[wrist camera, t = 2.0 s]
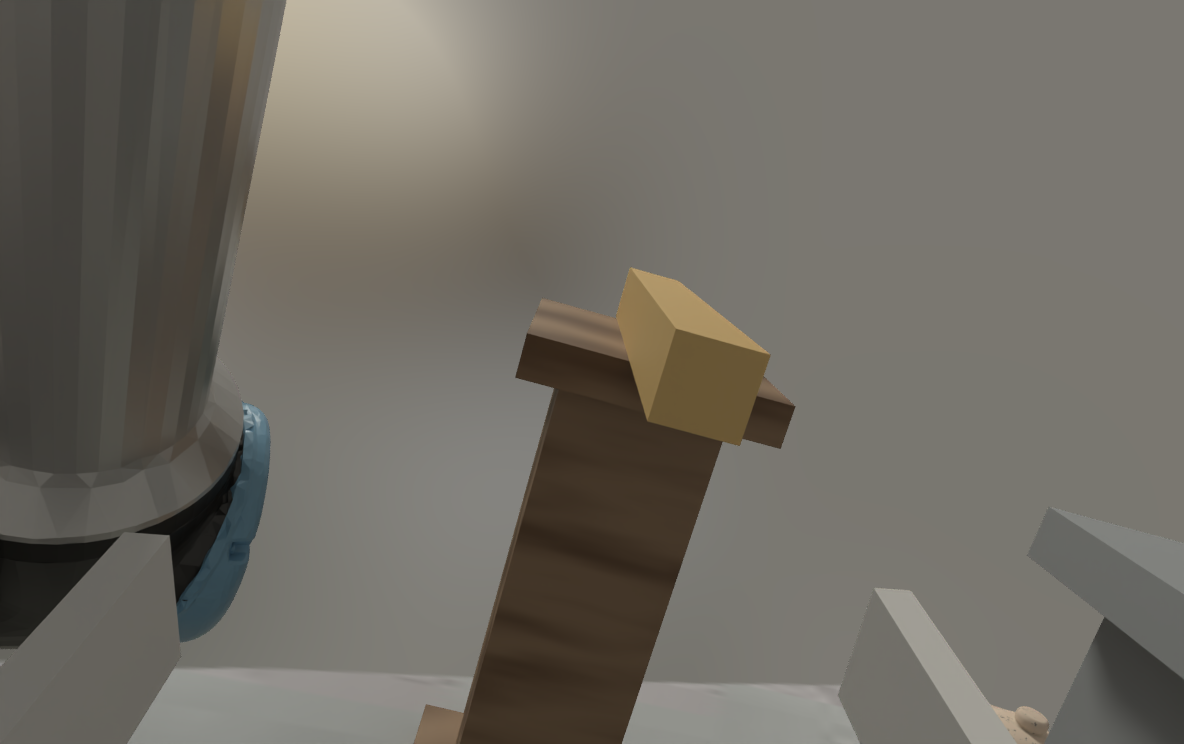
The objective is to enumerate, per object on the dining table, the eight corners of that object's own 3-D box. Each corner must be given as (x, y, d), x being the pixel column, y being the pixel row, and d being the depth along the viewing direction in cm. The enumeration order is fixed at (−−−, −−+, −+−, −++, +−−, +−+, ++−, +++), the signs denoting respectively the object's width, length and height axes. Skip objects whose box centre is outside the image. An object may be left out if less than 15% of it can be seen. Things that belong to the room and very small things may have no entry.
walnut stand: (615, 956, 38) (809, 412, 32) (365, 902, 37) (514, 331, 31) (607, 767, 51) (744, 352, 44) (420, 724, 50) (534, 294, 43)
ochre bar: (739, 445, 23) (770, 354, 22) (647, 421, 23) (675, 328, 22) (663, 329, 44) (678, 281, 44) (616, 315, 44) (630, 267, 44)
